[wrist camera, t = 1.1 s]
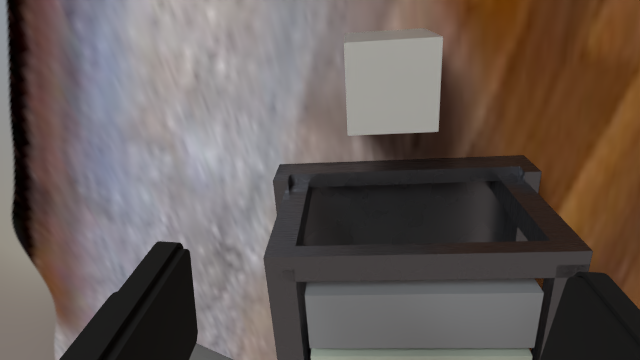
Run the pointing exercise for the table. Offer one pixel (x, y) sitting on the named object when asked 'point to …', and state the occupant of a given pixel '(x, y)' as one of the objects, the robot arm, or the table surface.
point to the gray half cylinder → (206, 354)
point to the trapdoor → (423, 319)
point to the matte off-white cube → (393, 81)
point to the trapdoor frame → (413, 232)
